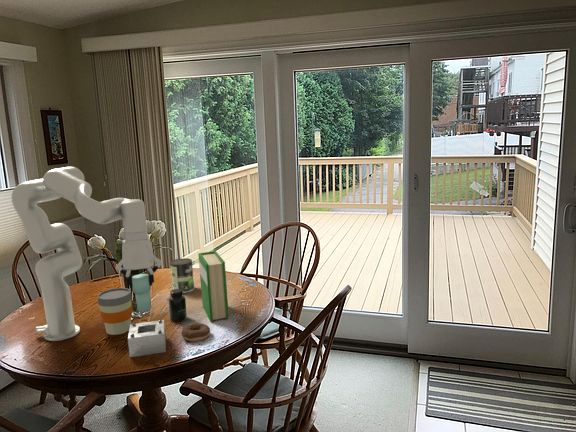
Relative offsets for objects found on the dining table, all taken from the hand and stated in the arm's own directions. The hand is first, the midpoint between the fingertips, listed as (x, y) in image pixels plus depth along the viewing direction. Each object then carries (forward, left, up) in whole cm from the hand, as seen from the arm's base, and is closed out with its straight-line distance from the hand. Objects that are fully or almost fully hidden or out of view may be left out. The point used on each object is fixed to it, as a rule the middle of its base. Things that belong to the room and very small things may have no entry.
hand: (141, 285), depth 167 cm
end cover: (0, -1, -9) cm, 9 cm away
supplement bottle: (+11, +22, -24) cm, 34 cm away
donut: (+17, +3, -24) cm, 29 cm away
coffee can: (+14, +56, -24) cm, 62 cm away
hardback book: (+26, +23, -24) cm, 42 cm away
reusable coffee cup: (-12, +19, -24) cm, 32 cm away
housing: (0, 0, -23) cm, 23 cm away
